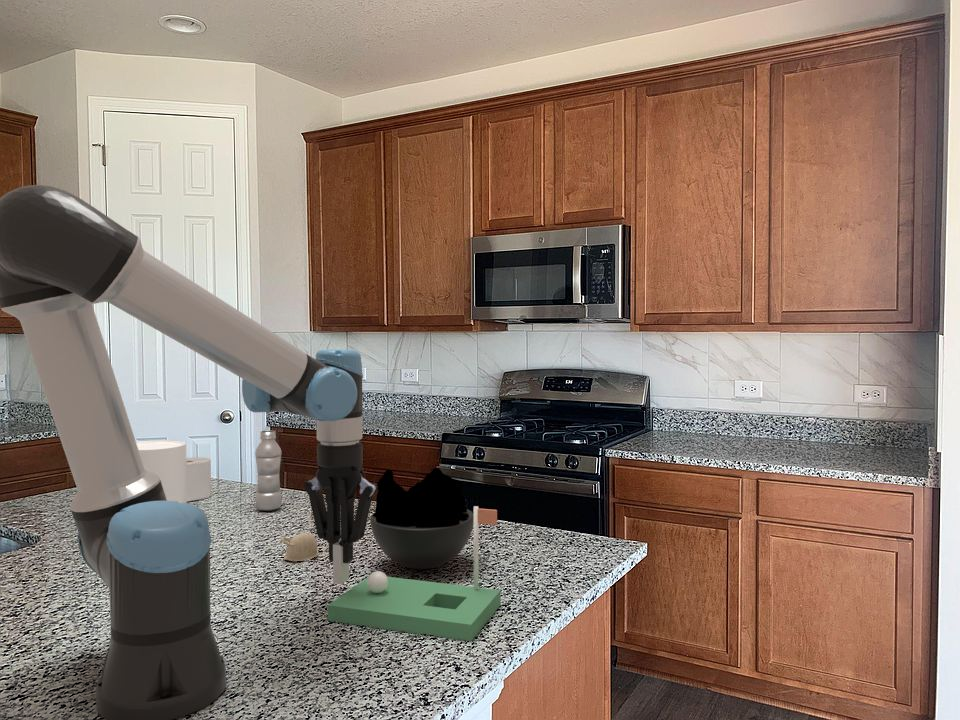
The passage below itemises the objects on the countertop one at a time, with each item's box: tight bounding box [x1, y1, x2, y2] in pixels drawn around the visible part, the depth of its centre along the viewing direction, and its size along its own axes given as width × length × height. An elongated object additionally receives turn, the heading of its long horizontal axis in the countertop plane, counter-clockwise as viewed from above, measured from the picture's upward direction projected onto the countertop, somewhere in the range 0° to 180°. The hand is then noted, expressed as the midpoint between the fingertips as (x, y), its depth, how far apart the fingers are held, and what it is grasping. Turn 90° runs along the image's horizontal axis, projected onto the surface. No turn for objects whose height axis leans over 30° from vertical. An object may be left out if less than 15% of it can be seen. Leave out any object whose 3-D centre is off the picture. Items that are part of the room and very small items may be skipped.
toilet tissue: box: [186, 456, 212, 502], centre depth 200 cm, size 11×12×10 cm
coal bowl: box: [369, 467, 474, 570], centre depth 142 cm, size 20×20×19 cm
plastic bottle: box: [254, 429, 283, 512], centre depth 186 cm, size 6×7×20 cm
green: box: [327, 505, 502, 642], centre depth 120 cm, size 15×24×16 cm, turn 72°
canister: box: [136, 439, 188, 503], centre depth 165 cm, size 14×14×20 cm
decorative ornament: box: [280, 532, 320, 562], centre depth 147 cm, size 4×8×5 cm, turn 128°
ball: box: [367, 570, 388, 593], centre depth 122 cm, size 4×4×4 cm
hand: (341, 580), depth 124 cm, fingers closed
